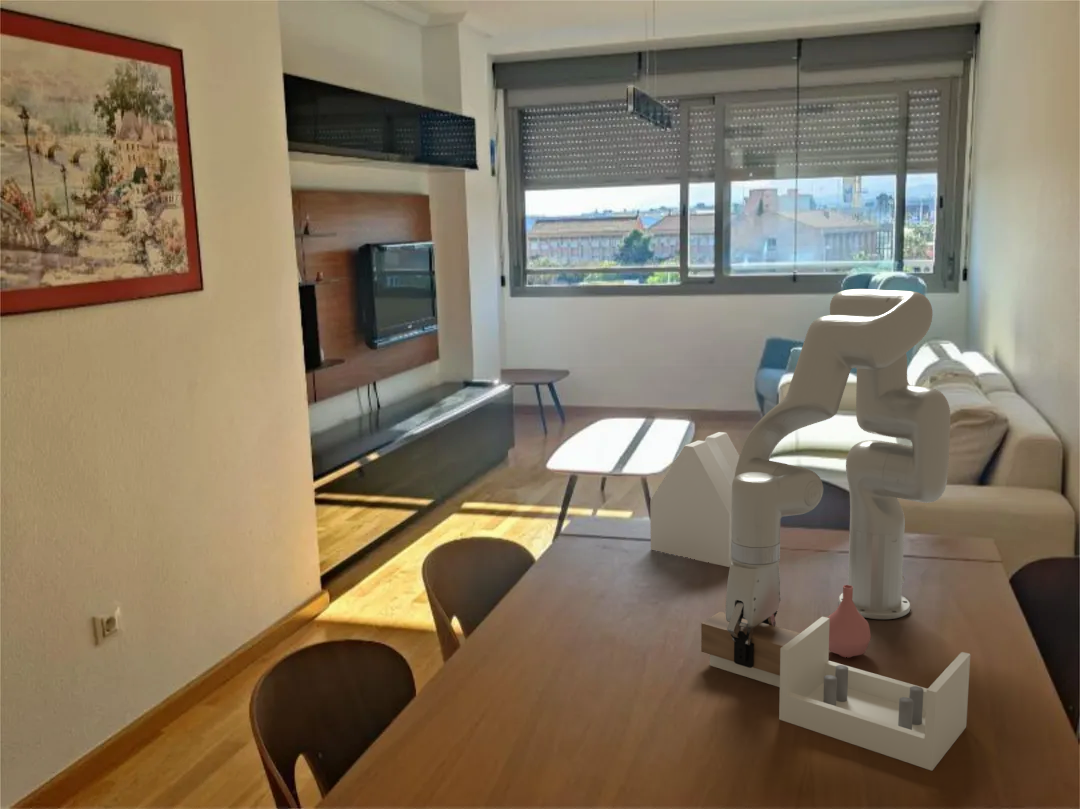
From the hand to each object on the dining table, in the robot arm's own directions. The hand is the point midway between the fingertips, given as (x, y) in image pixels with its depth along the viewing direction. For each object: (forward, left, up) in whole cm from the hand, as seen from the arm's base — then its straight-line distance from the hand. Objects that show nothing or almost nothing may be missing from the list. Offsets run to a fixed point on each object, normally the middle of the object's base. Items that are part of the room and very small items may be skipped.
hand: (754, 656), depth 156 cm
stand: (+4, +21, -3) cm, 22 cm away
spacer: (0, 0, -3) cm, 3 cm away
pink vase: (-15, +9, -3) cm, 18 cm away
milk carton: (-47, -37, -3) cm, 60 cm away
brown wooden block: (0, 0, 0) cm, 0 cm away
